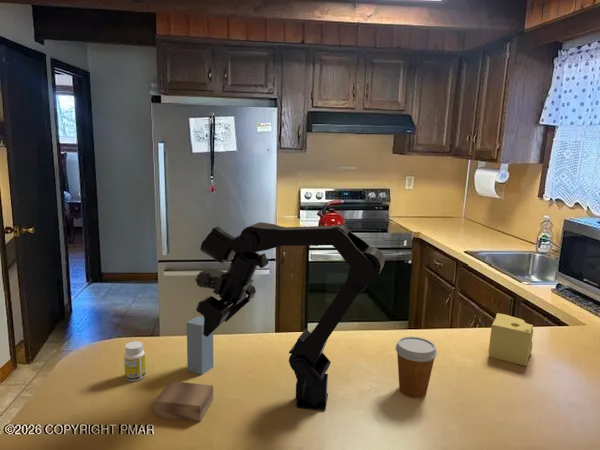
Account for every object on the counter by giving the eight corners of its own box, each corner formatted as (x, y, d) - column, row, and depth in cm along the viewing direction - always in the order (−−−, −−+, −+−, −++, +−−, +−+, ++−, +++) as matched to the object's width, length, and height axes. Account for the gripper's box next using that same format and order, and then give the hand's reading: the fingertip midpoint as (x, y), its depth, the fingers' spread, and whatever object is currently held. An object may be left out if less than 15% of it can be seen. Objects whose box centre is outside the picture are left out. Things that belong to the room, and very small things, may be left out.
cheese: (531, 353, 129) (535, 320, 127) (527, 368, 120) (531, 333, 118) (492, 343, 134) (496, 312, 132) (486, 357, 125) (489, 323, 123)
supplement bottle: (139, 369, 113) (137, 338, 111) (149, 376, 110) (148, 344, 108) (121, 377, 109) (119, 345, 108) (131, 384, 106) (130, 351, 105)
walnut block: (213, 401, 101) (213, 385, 100) (200, 423, 93) (200, 405, 92) (171, 397, 102) (170, 380, 101) (155, 418, 94) (154, 400, 94)
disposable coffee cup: (406, 376, 113) (409, 332, 111) (440, 392, 107) (445, 345, 105) (384, 390, 107) (387, 343, 105) (419, 407, 100) (424, 358, 98)
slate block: (213, 366, 116) (213, 319, 113) (202, 374, 111) (201, 325, 109) (199, 362, 117) (198, 315, 115) (187, 370, 113) (186, 322, 111)
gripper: (229, 247, 112) (207, 297, 117) (189, 266, 95) (165, 324, 99) (267, 269, 110) (243, 320, 114) (232, 293, 92) (205, 351, 97)
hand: (215, 327), depth 106 cm, fingers open, 9 cm apart
